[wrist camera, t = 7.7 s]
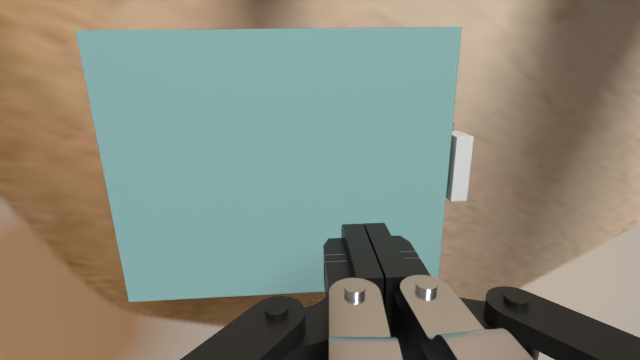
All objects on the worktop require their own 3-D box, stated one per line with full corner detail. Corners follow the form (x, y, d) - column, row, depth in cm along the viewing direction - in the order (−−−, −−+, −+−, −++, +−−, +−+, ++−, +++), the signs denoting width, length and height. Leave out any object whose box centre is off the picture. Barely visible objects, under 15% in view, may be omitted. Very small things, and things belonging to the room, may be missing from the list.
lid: (469, 29, 22) (485, 26, 20) (445, 269, 27) (457, 285, 25) (94, 33, 20) (74, 30, 19) (140, 285, 25) (128, 303, 23)
